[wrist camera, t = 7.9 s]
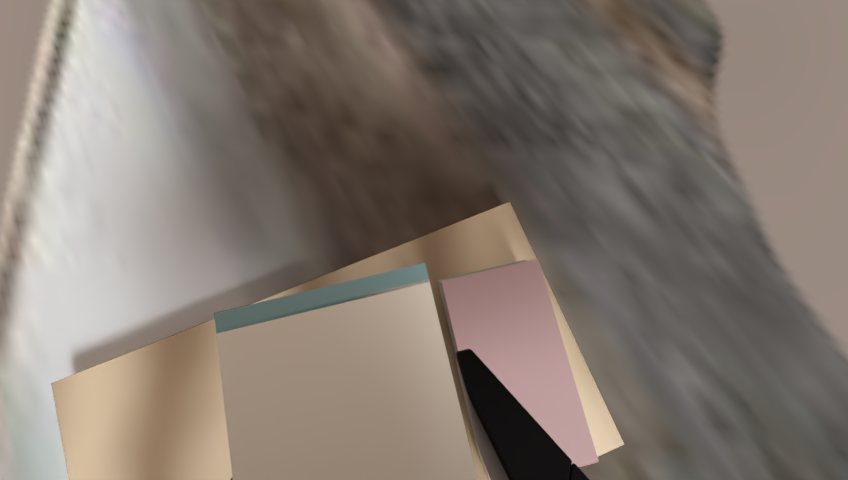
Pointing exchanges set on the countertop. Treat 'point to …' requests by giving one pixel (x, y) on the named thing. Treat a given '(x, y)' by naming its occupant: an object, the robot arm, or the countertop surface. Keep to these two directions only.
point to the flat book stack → (520, 347)
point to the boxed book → (342, 385)
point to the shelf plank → (202, 386)
